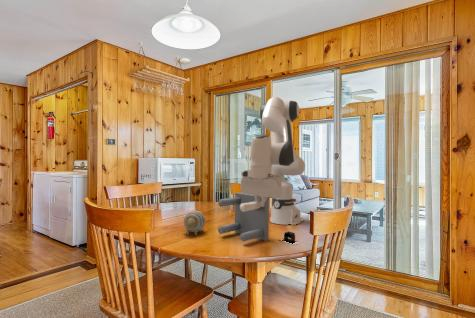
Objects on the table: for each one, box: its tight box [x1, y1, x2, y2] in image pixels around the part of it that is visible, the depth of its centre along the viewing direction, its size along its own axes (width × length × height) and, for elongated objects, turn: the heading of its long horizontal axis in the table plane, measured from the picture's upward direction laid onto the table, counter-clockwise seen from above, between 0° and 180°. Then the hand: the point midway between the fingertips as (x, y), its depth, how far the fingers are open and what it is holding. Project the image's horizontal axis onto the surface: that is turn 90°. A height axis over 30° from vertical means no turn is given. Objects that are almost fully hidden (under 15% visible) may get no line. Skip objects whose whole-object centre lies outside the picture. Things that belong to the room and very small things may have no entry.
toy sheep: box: [183, 210, 206, 236], centre depth 137 cm, size 11×17×11 cm, turn 175°
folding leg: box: [240, 200, 261, 212], centre depth 122 cm, size 11×4×4 cm, turn 133°
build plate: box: [281, 231, 298, 245], centre depth 125 cm, size 12×7×5 cm, turn 42°
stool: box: [217, 192, 270, 242], centre depth 129 cm, size 14×20×20 cm
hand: (260, 206), depth 113 cm, fingers closed
